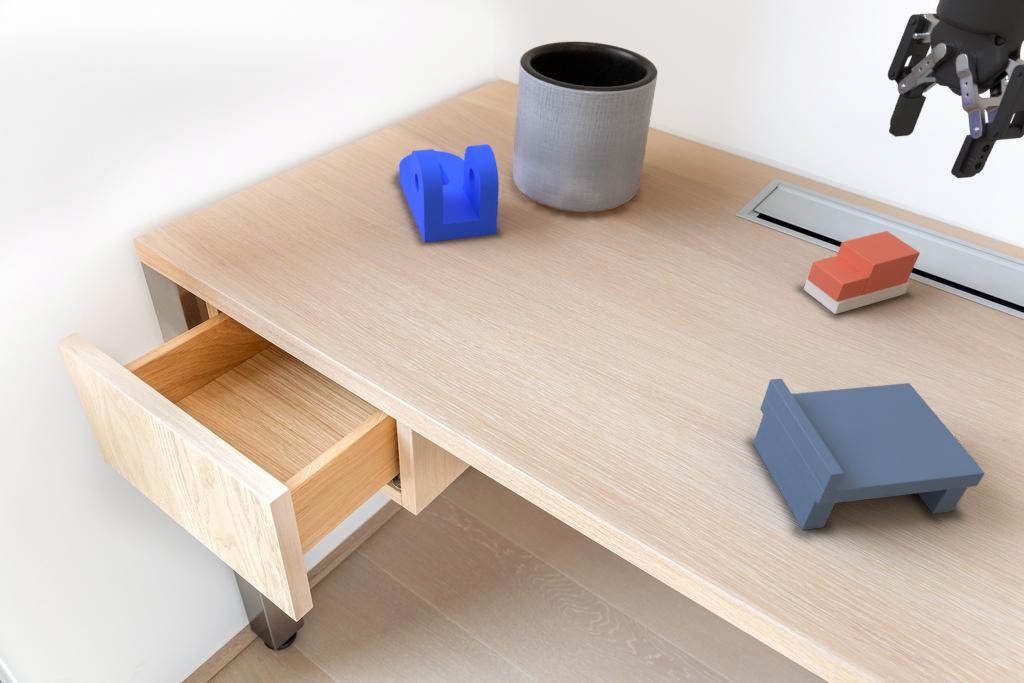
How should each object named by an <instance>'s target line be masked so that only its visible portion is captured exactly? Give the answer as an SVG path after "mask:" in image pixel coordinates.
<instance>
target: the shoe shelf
mask: <svg viewBox="0 0 1024 683" xmlns="http://www.w3.org/2000/svg"><path fill="white" fill-rule="evenodd" d="M760 412H761V413H762V417H761V421H760V423H759V426H758V429H757V430H756V434H755V438H754V440H753V446H754V448H755V450H756V451H757V453H758V455H759V456H760V459H761V460H762V462H763V464H764V465H765V467H766V469H767V471H768V472H769V474H770V475H771V478H772V479H773V481H774V483H775V485H776V487H777V488H778V490H779V491H780V493H781V495H782V497H783V498H784V500H785V503H786V504H787V506H788V508H789V509H790V511H791V513H792V515H793V516H794V518H795V520H796V522H797V523H798V525H799V527H800V528H801V530H802V531H804V530H806V531H807V530H812V529H822V528H824V527H825V525H826V523H827V521H828V519H829V517H830V515H831V513H832V510H833V508H834V507H835V504H837V503H845V502H854V501H862V500H870V499H878V498H880V499H881V498H888V497H896V496H904V495H913V494H917V495H918V496H919V497H920V499H921V500H922V501H923V503H924V504H925V505H926V507H927V508H928V510H929V511H930V512H931V513H932V514H941V513H949V512H953V511H954V510H955V508H956V506H957V505H958V504H959V502H960V501H961V499H962V497H963V496H964V494H965V493H966V491H967V489H968V488H972V487H977V486H978V485H979V483H980V482H981V480H982V478H983V477H984V476H985V474H986V473H985V471H984V470H983V469H982V467H980V465H979V464H978V463H977V461H976V460H975V459H974V458H973V456H971V455H970V453H969V452H968V451H967V449H965V447H964V446H963V445H962V444H961V442H959V440H958V439H957V438H956V437H955V436H954V434H953V433H952V432H951V431H950V430H949V429H948V427H947V426H946V425H945V424H944V422H943V421H942V420H941V419H940V418H939V417H938V416H937V414H936V413H935V411H933V409H932V408H931V407H930V406H929V405H928V403H927V402H926V401H925V400H924V399H923V397H922V396H921V395H920V394H919V392H917V390H916V389H915V388H914V387H913V386H912V384H911V383H909V382H906V383H905V382H904V383H896V384H883V385H874V386H873V385H872V386H863V387H861V386H860V387H851V388H850V387H849V388H841V389H831V390H829V389H828V390H819V391H809V392H798V393H792V392H791V391H790V389H789V388H788V386H787V385H786V383H785V381H784V380H783V378H772V379H769V382H768V385H767V388H766V391H765V394H764V397H763V400H762V403H761V405H760Z"/></svg>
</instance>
